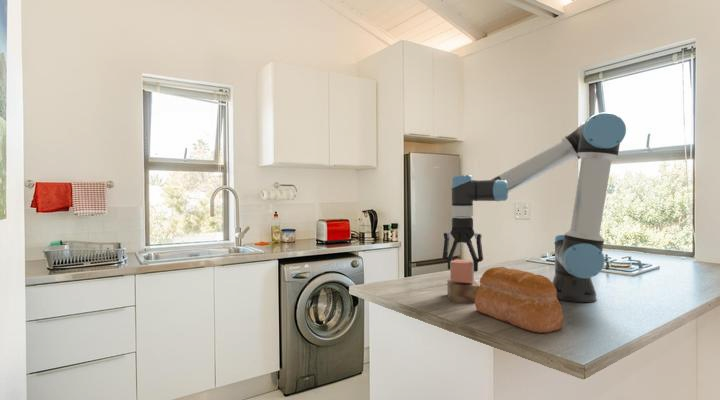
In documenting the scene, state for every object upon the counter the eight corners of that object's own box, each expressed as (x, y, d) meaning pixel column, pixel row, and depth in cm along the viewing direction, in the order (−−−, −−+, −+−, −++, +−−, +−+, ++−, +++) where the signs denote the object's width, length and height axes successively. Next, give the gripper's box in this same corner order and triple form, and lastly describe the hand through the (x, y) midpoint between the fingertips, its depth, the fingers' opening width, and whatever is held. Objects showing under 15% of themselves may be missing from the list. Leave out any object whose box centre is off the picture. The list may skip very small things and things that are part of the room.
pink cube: (474, 279, 146) (474, 260, 146) (470, 283, 140) (470, 263, 140) (455, 277, 149) (455, 259, 149) (450, 281, 143) (450, 262, 143)
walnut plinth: (474, 295, 149) (474, 280, 149) (479, 303, 139) (479, 286, 139) (447, 295, 150) (447, 279, 150) (450, 302, 140) (450, 285, 140)
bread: (537, 337, 105) (537, 281, 105) (469, 311, 129) (469, 265, 129) (570, 329, 111) (570, 276, 111) (500, 305, 135) (499, 261, 135)
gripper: (492, 217, 143) (492, 279, 143) (438, 216, 152) (439, 275, 152) (488, 218, 136) (489, 284, 136) (433, 217, 145) (433, 278, 146)
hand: (462, 279), depth 144 cm, fingers closed on pink cube, 7 cm apart
